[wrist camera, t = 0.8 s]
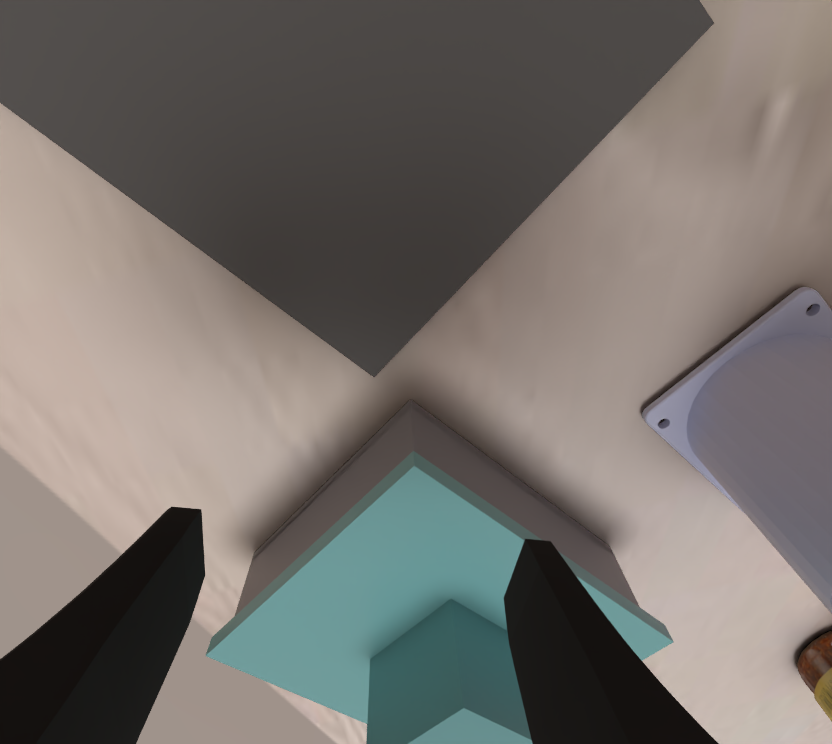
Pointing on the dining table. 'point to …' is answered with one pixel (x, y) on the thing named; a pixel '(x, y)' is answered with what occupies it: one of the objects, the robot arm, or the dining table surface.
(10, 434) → the dining table surface
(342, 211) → the mat
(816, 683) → the sauce bottle
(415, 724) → the lid
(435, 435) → the tub
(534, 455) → the dining table surface
